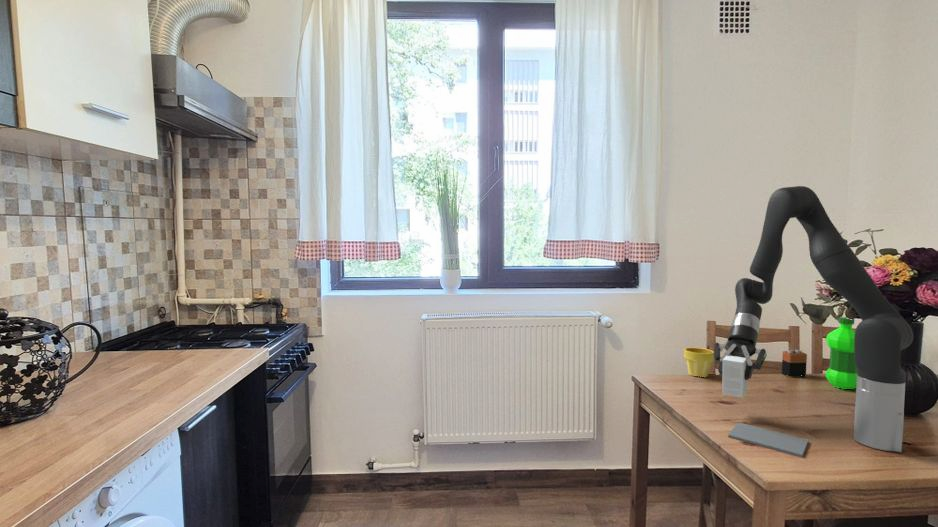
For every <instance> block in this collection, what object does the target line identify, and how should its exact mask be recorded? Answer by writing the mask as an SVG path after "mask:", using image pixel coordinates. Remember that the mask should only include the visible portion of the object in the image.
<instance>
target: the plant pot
mask: <svg viewBox="0 0 938 527" xmlns="http://www.w3.org/2000/svg"><path fill="white" fill-rule="evenodd" d="M683 358H684V359H685V361H686V368H687V372H688V375H690V376H691V377H694V376H698V377H697V378H701V377H704V378H707V377H708V376H709V373H710V369H711V366H712V363H713V362H714V361H715V359H714V350H711V349H708V348H702V347H693V346H690V347H685V348H684V349H683ZM699 376H700V377H699Z"/></svg>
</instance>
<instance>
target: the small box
mask: <svg viewBox="0 0 938 527" xmlns="http://www.w3.org/2000/svg"><path fill="white" fill-rule="evenodd" d="M746 366H748V365H747V361H746V359H745V358H744V357H739V356H732V355H730V356H726V357H725V358H724V359H723V365H722V377H721V381H722V382H721V383H722V385H721V394H722V395H725V396H730V397H731V396H732V397H736V398H744V397H745V394H746V393H747V391H748V381H749V379H748V380H745V378H744V375H745V370H746Z"/></svg>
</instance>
